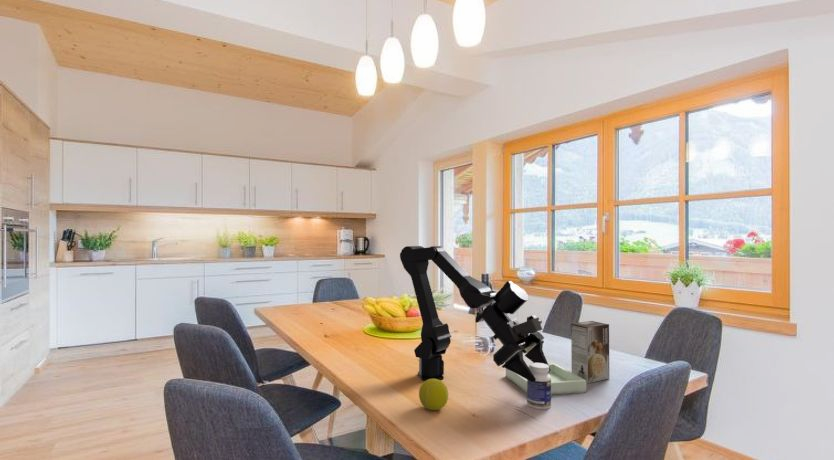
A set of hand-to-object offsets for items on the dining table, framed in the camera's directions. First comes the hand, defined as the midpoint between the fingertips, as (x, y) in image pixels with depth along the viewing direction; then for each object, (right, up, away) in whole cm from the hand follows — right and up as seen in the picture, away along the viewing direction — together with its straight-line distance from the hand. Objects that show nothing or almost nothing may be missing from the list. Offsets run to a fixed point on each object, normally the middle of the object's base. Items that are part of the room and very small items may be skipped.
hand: (542, 376), depth 105 cm
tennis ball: (-27, -7, -2) cm, 28 cm away
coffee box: (+20, -8, +21) cm, 31 cm away
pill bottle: (-1, -7, 0) cm, 8 cm away
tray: (+5, -7, +16) cm, 18 cm away
